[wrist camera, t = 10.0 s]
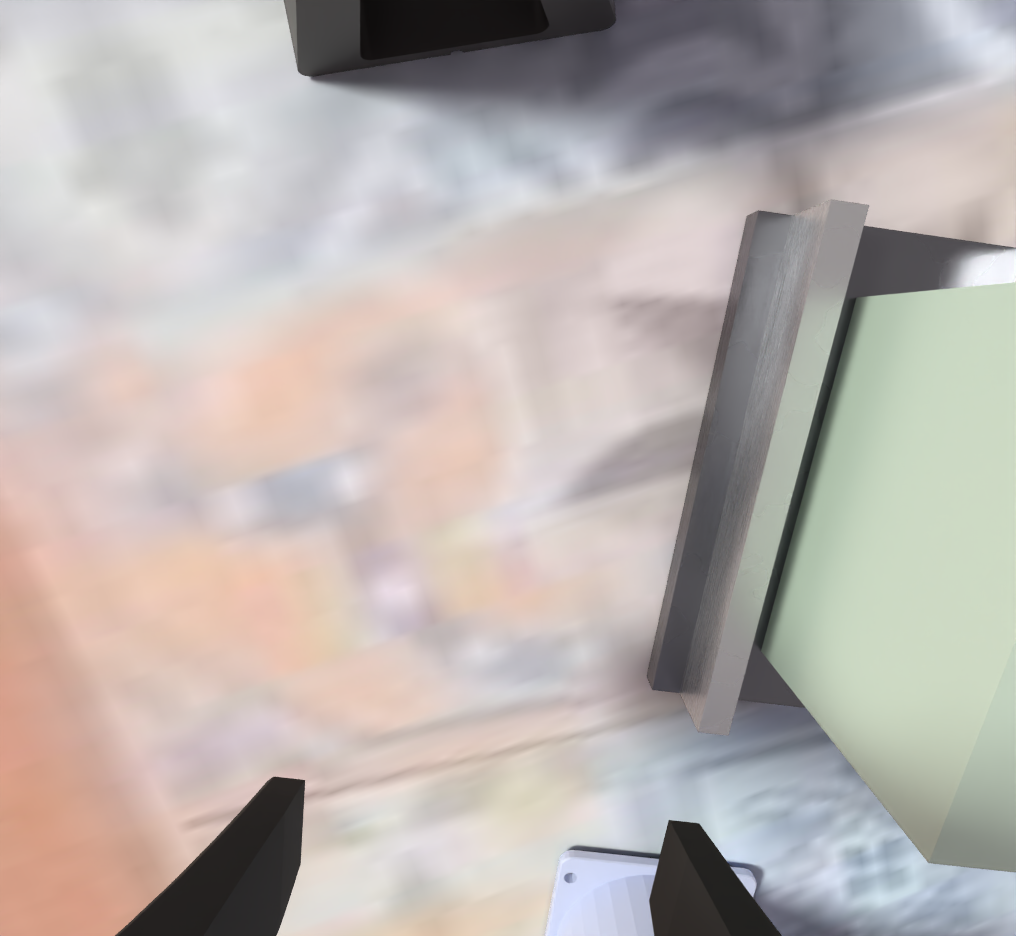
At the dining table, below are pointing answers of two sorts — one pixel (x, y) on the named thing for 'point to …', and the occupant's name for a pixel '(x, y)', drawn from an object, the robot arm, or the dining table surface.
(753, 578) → the track
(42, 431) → the dining table surface
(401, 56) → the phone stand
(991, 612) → the door panel
